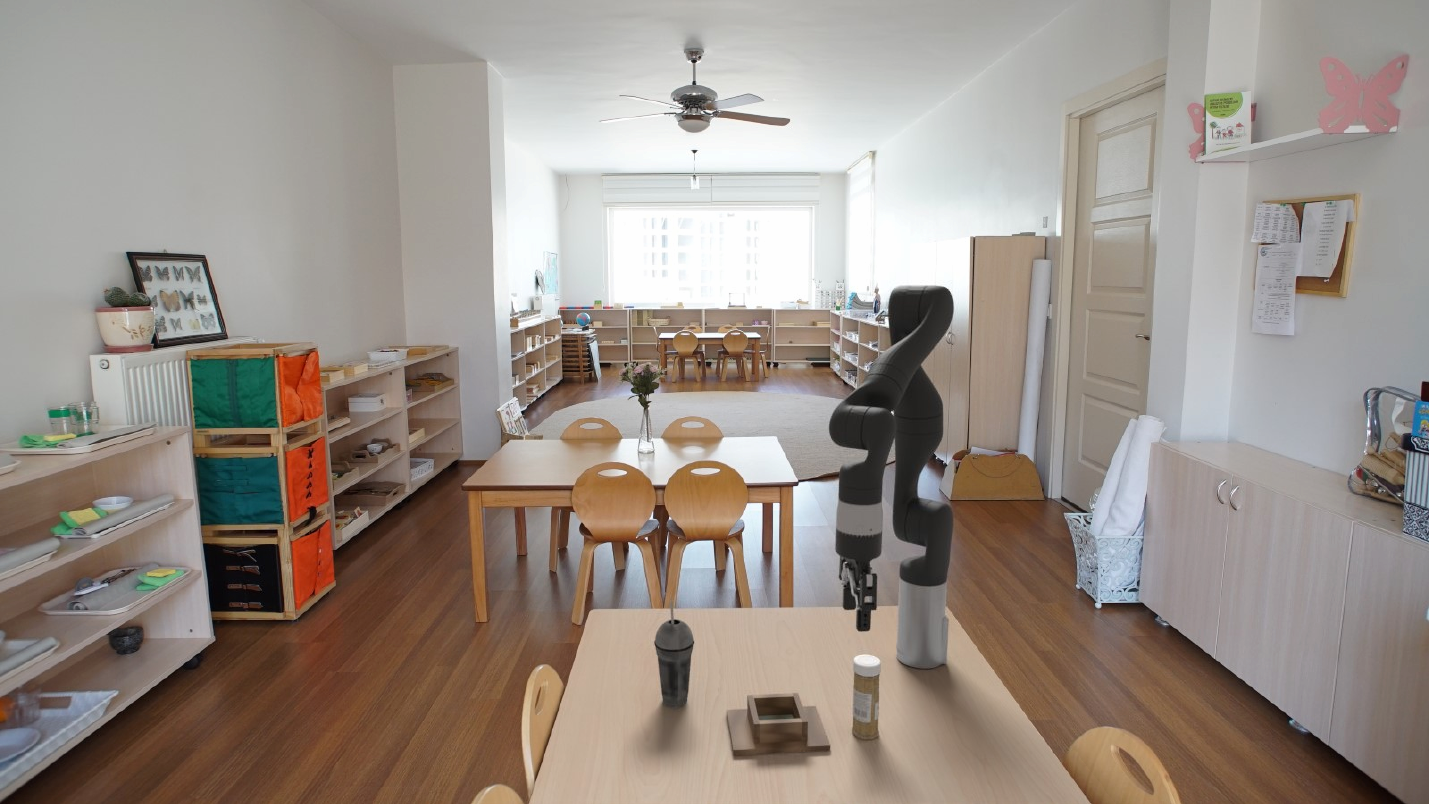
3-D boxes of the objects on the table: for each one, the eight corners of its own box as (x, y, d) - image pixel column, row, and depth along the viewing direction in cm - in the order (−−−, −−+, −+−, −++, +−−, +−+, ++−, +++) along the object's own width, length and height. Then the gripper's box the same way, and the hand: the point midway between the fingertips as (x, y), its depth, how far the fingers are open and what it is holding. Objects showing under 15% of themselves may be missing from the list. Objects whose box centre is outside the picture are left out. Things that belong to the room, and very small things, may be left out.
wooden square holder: (815, 711, 144) (815, 687, 143) (830, 750, 132) (830, 725, 131) (726, 715, 143) (726, 691, 142) (733, 755, 131) (733, 730, 130)
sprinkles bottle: (884, 735, 137) (886, 661, 134) (864, 744, 134) (866, 669, 132) (865, 722, 140) (867, 650, 138) (845, 731, 138) (847, 658, 136)
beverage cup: (700, 694, 150) (699, 592, 146) (686, 714, 143) (685, 608, 140) (664, 687, 152) (662, 587, 149) (648, 707, 145) (646, 603, 142)
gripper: (895, 539, 125) (891, 637, 128) (868, 513, 139) (865, 601, 142) (848, 541, 124) (844, 639, 127) (826, 514, 138) (823, 603, 141)
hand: (855, 619), depth 134 cm, fingers open, 8 cm apart
